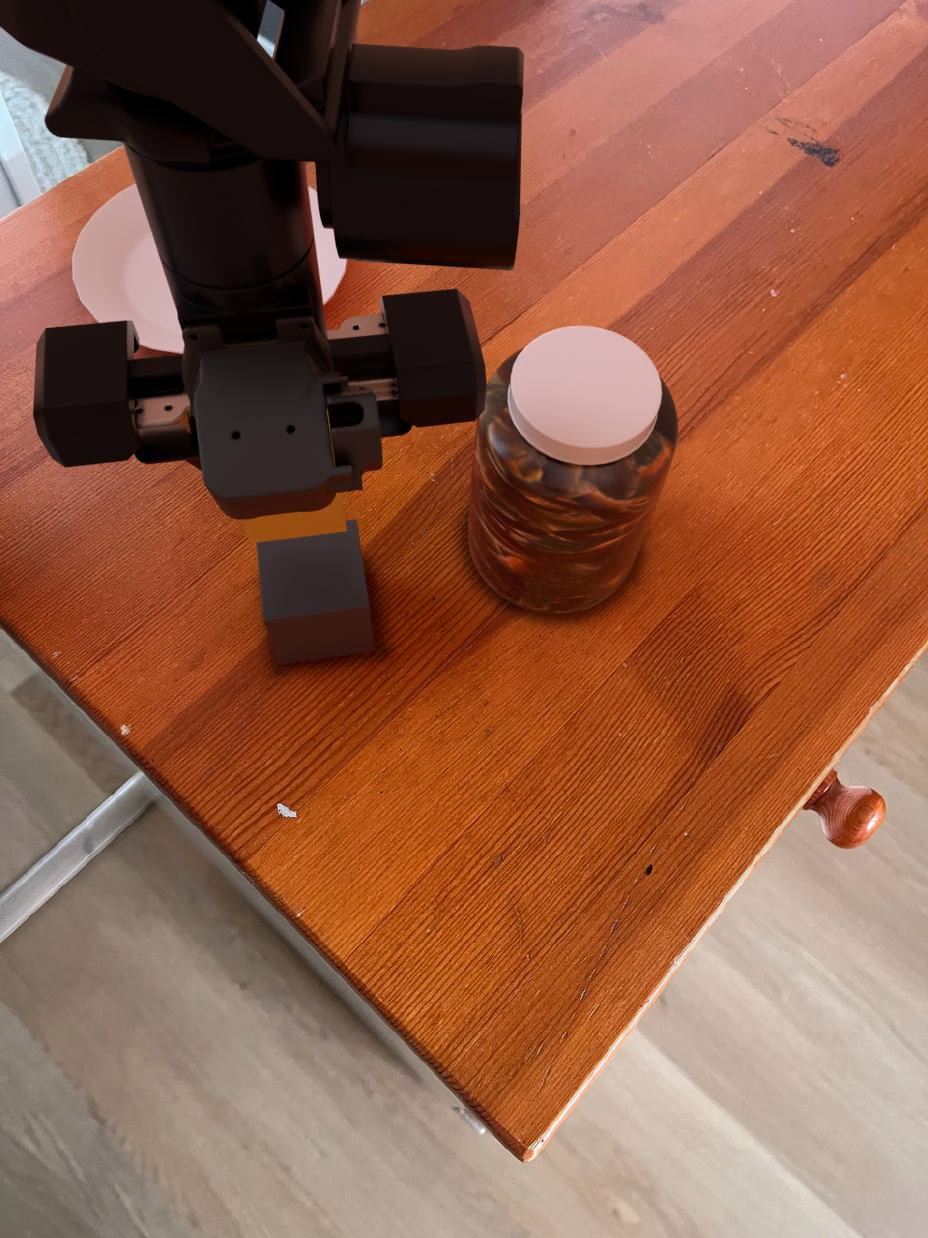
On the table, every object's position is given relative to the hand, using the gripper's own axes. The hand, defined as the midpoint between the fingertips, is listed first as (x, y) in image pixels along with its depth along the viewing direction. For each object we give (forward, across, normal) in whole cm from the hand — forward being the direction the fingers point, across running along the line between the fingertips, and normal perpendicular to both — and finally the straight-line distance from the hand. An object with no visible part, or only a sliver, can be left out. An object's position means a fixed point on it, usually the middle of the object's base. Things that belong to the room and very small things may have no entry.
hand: (291, 486), depth 47 cm
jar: (+13, +16, +3) cm, 21 cm away
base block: (+13, 0, -1) cm, 13 cm away
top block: (+1, 0, 0) cm, 1 cm away
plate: (+13, -5, +31) cm, 34 cm away
